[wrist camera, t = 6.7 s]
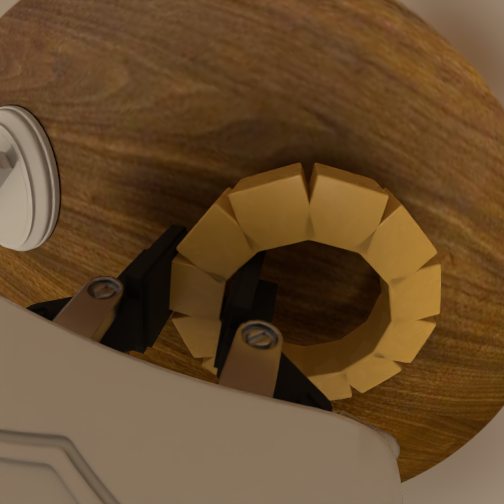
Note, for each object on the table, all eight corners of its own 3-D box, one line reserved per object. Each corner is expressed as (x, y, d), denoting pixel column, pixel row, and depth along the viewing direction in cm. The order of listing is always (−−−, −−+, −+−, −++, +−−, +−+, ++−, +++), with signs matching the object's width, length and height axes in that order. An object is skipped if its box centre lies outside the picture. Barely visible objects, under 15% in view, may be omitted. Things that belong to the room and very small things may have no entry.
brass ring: (180, 343, 15) (166, 371, 13) (203, 137, 10) (182, 144, 8) (366, 384, 14) (369, 414, 12) (461, 211, 10) (485, 232, 8)
